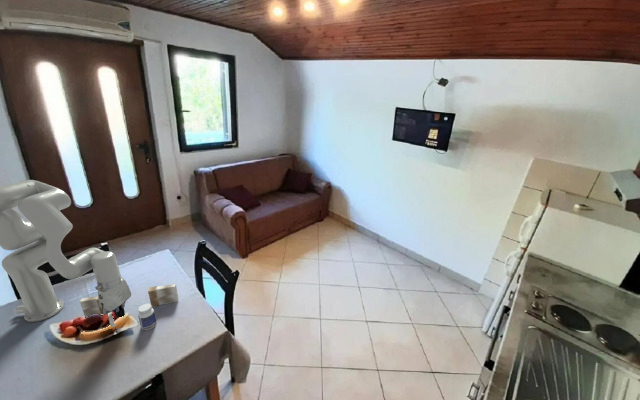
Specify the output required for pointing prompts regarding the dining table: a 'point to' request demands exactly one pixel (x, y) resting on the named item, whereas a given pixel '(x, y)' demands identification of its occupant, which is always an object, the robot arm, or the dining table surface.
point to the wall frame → (155, 294)
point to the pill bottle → (146, 317)
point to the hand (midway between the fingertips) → (120, 316)
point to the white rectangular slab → (111, 320)
